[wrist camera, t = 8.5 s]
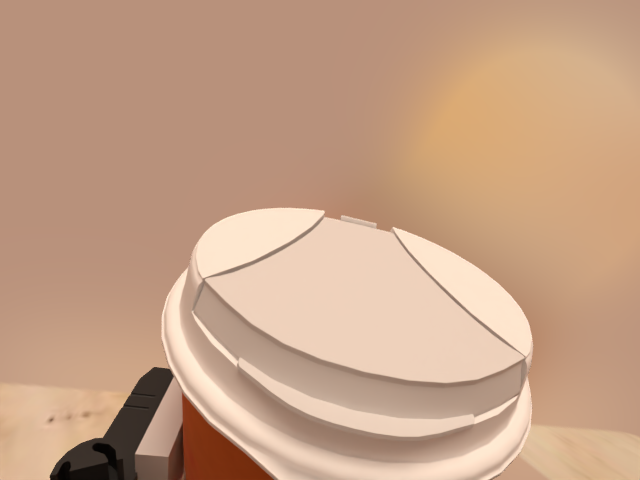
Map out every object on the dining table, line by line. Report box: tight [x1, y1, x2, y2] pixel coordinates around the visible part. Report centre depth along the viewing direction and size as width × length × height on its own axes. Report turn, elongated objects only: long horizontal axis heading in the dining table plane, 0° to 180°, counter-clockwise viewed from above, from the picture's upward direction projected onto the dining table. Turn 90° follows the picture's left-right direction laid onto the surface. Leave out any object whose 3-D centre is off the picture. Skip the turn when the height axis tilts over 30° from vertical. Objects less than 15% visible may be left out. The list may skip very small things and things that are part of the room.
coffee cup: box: [162, 208, 533, 480], centre depth 10 cm, size 8×8×15 cm
